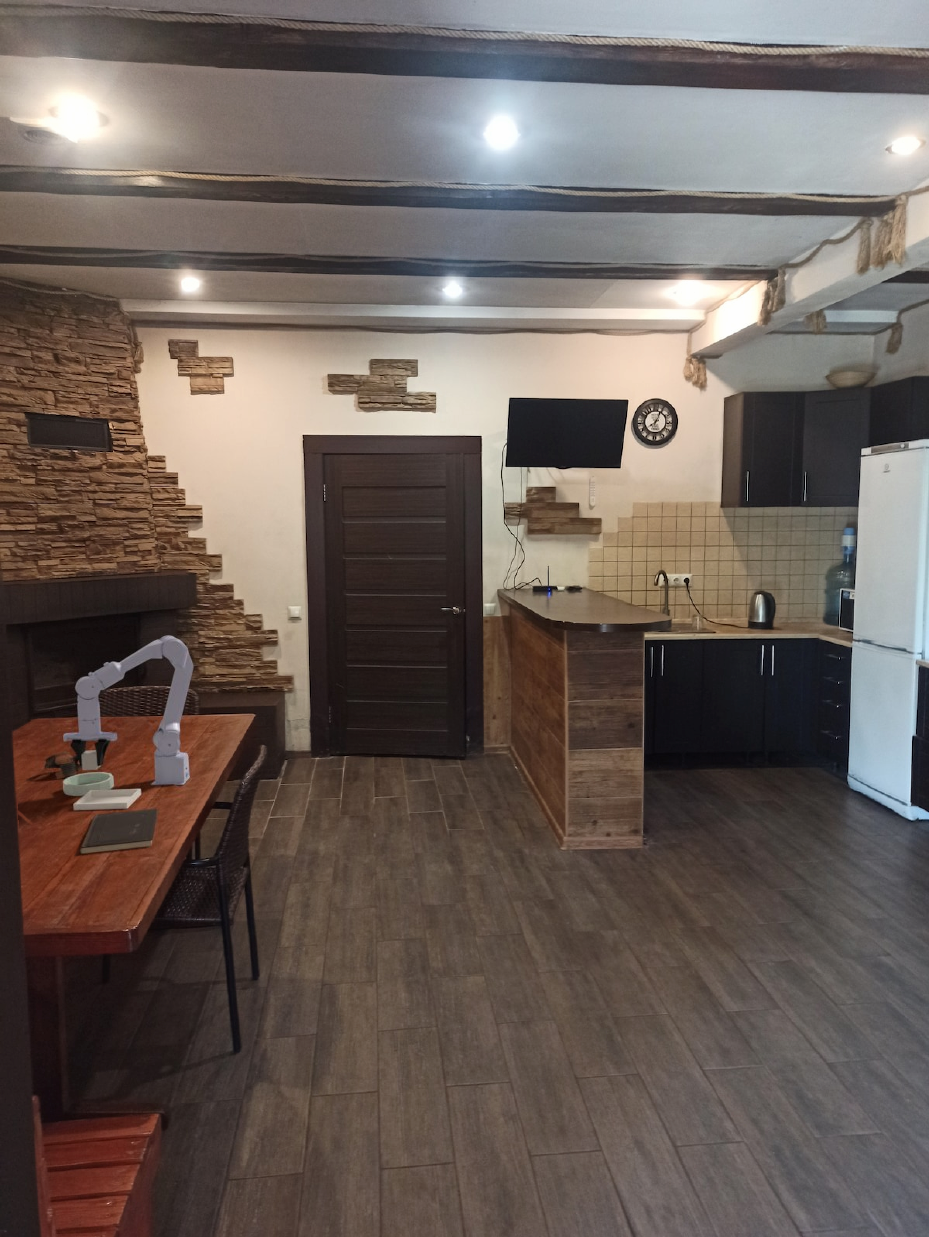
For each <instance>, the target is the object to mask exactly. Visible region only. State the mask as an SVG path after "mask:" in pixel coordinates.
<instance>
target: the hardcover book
mask: <svg viewBox="0 0 929 1237" xmlns="http://www.w3.org/2000/svg"><path fill="white" fill-rule="evenodd" d="M158 813H159V807H158V808H148V809H139V810H128V811H118V812H110V813H109V812H108V813H100V814H99V813H98V814H94V815H93V817H92V819H91V822H90V824H89V826H88V829H87V831H86V833H85V837H84V839H83V842H82V844H81V845H80V848H79V854H80V855H81V854H90V853H99V852H107V851H110V852H111V851H117V850H126V849H136V848H146V847H152V844H153V839H154V835H155V829H156V824H157V820H158Z"/></svg>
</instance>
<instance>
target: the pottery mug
mask: <svg viewBox="0 0 929 1237" xmlns="http://www.w3.org/2000/svg"><path fill="white" fill-rule="evenodd" d="M44 760H45V763H44V767H43V769H44V770H46V769H61V770H59V771H57V772H55V776H56V780H61V779H64V778H68V777H71V776H75V775H77V773H78V772H80V770H81V769H82V766H80V763H79V760H78V758H77V755H76V754H75V755H72V754H71V752H70V751H63V752H58V753H55V754H52V755H50V756H48V757H47V758H45V759H44Z"/></svg>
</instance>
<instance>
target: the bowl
mask: <svg viewBox="0 0 929 1237" xmlns="http://www.w3.org/2000/svg"><path fill="white" fill-rule="evenodd" d="M114 779H115V778H114V776H113V775H112V773H111V772H103V771H102V772H101V771H97V772H95V771H94V772H85V773H78V774H76V775H75V776H70V777H66V778H65V779H64V780H63V781H62V787H63V793H64V794H65V795H67V796H73V797H83V796H84V795H85V794H86V793H88V792H89V791H90V790H112V789H113V787H115V783H114Z"/></svg>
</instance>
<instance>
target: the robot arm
mask: <svg viewBox="0 0 929 1237" xmlns="http://www.w3.org/2000/svg"><path fill="white" fill-rule="evenodd" d="M163 657H165V658H167V659H168V660H169V663H170V664H171V665H172V666H173V668H174V673H173V676H172V680H171V685H170V689H169V693H168V696H167V697H168V698H167V702H166V704H165V709H164V712H163V717H162V720H161V722H160V723H159V726H158V728H157V731H156V732H155V733H154V734H153V737H152V742H153V744H154V746H155V747H156V749H155V751H153V754H154V758H153V759H154V774H155V775H154V776H155V780H153V781H152V783H151V784H150V785H152V786H155V785H157V786H158V785H159V786H160V785H174V786H182V785H183V786H184V785H185V783H186V782H188V780H189V779H190V777H191V776H190V763H189V762H190V761H189V759H190V758H189V755H188V753H187V752H181V751H180V747H181V740H180V734H181V727H180V726H181V720H182V716H183V712H184V707H185V704H186V701H187V700H186V699H187V695H188V691H189V688H190V682H191V680H192V677H193V676H192V675H193V671H194V663H193V661H192V658H191V655H190V653H189V648H188V647H187V645H185V643H184V642H183V641H182V640H181V639H179V638H176V637H175V636H173V635H168V634H167V635H164V636H162V637H161V638H159V639H156V640H152V642H150V643H147V645H145V646H143V647H142V648H140V649H138V650H137V651H135V652H134V653H131V654H130V655H129V656H127V657H125V658H124V659H123V660H121V661H120V662H117V661H111V662H108V661H107V662H104V663H103V667H100V668H99V669H96V670H95V671H94V672H92V671H90V672H89V673H88V676H87V675H86V676H82V677H80V678H79V679H78V680H77V681H76V684H75V686H74V689H75V692H76V693H77V699H76V700H77V720H78V721H77V723H78V724H77V725H78V732H69V733H68V732H67V733H64V734H63V735H62V736H63V737H62V739H63V742H68V741H69V742H71V743H70V748H71V749H72V750H73V752H74V753H75V755H77V758H78V764H80V766H82V754H83V753H84V752H85V751H87V750H86V749H87V741H88V742H90V741H91V742H92V741H96V742H94V743H93V744H94V747H95V750H96V753H97V764H98V766H100V767H102V766H103V765H104V760H105V756H106V752H107V749H108V747H109V745H110V743H111V742H115V741H117V740H118V733H117V732H108V731H107V732H106V731H102V727H101V710H100V701H99V695H100V693H101V691H104V690H106V689H107V688H110V686H113V685H114V684H116V683H117V682H119V681H121V680H123V679H124V677H125V673H126V672H128V671H130V670H132V669H134V668H135V667H137V666H139V665H141V664H143V663H144V662H146V661H149V660H150V659H163Z"/></svg>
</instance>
